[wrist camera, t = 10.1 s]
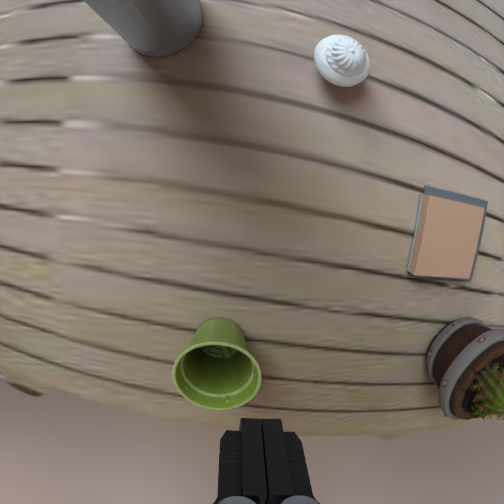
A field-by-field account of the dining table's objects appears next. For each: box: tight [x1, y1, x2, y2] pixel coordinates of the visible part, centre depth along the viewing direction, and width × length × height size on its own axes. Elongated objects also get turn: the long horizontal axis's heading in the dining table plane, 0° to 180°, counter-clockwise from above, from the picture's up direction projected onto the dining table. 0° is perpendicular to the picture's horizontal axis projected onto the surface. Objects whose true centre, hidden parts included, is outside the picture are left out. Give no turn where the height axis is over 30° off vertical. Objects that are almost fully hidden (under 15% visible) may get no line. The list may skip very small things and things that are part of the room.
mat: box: [408, 186, 488, 281], centre depth 37 cm, size 12×12×1 cm
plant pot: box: [172, 318, 262, 410], centre depth 36 cm, size 9×9×9 cm
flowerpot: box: [426, 318, 504, 422], centre depth 33 cm, size 14×15×20 cm
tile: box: [407, 193, 484, 279], centre depth 36 cm, size 10×2×10 cm
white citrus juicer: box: [314, 35, 370, 87], centre depth 28 cm, size 6×6×7 cm
